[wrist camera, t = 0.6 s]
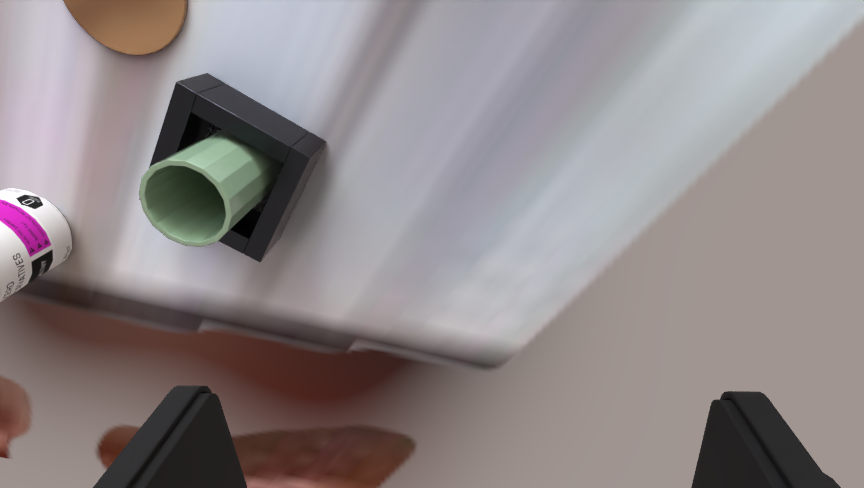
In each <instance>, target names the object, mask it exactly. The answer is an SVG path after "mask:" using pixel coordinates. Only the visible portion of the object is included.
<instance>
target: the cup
mask: <svg viewBox="0 0 864 488" xmlns="http://www.w3.org/2000/svg"><path fill="white" fill-rule="evenodd" d="M281 169H282V164H281V162H279V161H278V160H276V159H274V158H272V157H270V156H269V155H267V154H265V153H263V152H262V151H260V150H258V149H256V148H254V147H253V146H251V145H249V144H247V143H245V142H244V141H242V140H240V139H238V138H236V137H235V136H233V135H231V134H229V133H227V132H226V131H224V130H220V131H218V132H216V133H214V134H212V135H210V136H208V137H206V138H204V139H202V140H200V141H198V142H196V143H194V144H193V145H191V146H189V147H187V148H185V149H183V150H181V151H179V152H177V153H175V154H173V155H171V156H169V157H167V158H166V159H164V160H162V161H160V162H158V163H156V164H154V165H152V166H151V167H150V168H149V170H148V171H147V172H146V173H145V174H144V176H143V177H142V180H141V185H140V190H139V196H140V200H141V204H142V208H143V211H144V213H145V214H146V216H147V217H148V219H149V220H150V222H151V223H152V225H153V226H154V227H155V228H156V229H157V230H159V231H160V232H161V233H162V234H163V235H165V236H166V237H167V238H168V239H171V240H173V241H175V242H178V243H180V244H183V245H185V246H198V247H203V246H206V245H209V244H212V243H215V242H218V241H219V240H220V239H221V238H222V237H223V236H224V235H225V234H226V233H227V232H228V231H229V230H230V229H231V228H233V227H234V226H235V225H236V224H237V223H238V222H239V221H240V220H241V219H242V218H243V217H244V216H245V215H246V214H247V213H249V212H250V211H251V210H252V209H253V208H254V207H255V206H256V205H257V204H258V203H259V202H260V201H261V200H262V199H263V198H265V197H266V196H267V195H268V194H269V193H270V192H271V191H272V189H273V186H274V184H275V182H276V180H277V178H278V175H279V173H280V171H281Z"/></svg>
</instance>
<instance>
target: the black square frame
mask: <svg viewBox="0 0 864 488" xmlns="http://www.w3.org/2000/svg"><path fill="white" fill-rule="evenodd" d="M210 124H213V125H215V126H217V127H219V128H220V129H222V130H224V131H226V132H227V133H229V134H231V135H233V136H235V137H236V138H238V139H240V140H242V141H244V142H245V143H247V144H249V145H251V146H253V147H254V148H256V149H258V150H260V151H262V152H263V153H265V154H267V155H269V156H270V157H272V158H274V159H276V160H278V161H279V162H281V163H284V164H283V167H282V169H281V171H280V173H279V175H278V178H277V180H276V182H275V184H274V186H273V189H272V191H271V193H270V195H269V197H268V200H267V202H266V204H265V206H264V208H263V211H262V213H260V212H258V211H257V210H255V209H252V210H251V211H250V212H249V213H247V214H246V215H245V216H244V217H243V218H242V219H241V220H240V221H239V222H238V223H237V224H236V225H235V226H234V227H233V228H231V229H230V230H229V231H228V232H227V233H226V234H225V235H224V236H223V237H222V238H221V239H220V240H219V241H220V242H222V243H224V244H226V245H228V246H230V247H231V248H233V249H235V250H237V251H239V252H241V253H243V254H245V255H247V256H249V257H251V258H253V259H255V260H257V261H258V262H261V261H262V260H263V258H264V257H265V256H266V255H267V253H268V252H269V251H270V250H271V249H272V247H273V246H274V245H275V244H276V243H277V241H278V240H279V239H280V237H281V235H282V233H283V231H284V229H285V227H286V225H287V222H288V220H289V218H290V216H291V214H292V212H293V210H294V208H295V206H296V204H297V202H298V200H299V198H300V196H301V194H302V192H303V190H304V188H305V186H306V183H307V181H308V179H309V177H310V175H311V173H312V171H313V169H314V167H315V165H316V163H317V161H318V159H319V157H320V155H321V153H322V151H323V149H324V147H325V144H326V141H324V140H323V139H321V138H319V137H317V136H316V135H314V134H312V133H309V132H308V131H307V130H305V129H303V128H302V127H300V126H298V125H296V124H295V123H293V122H291V121H289V120H288V119H286V118H284V117H282V116H281V115H279V114H277V113H275V112H274V111H272V110H270V109H268V108H267V107H265V106H263V105H261V104H260V103H258V102H256V101H255V100H253V99H251V98H249V97H248V96H246V95H244V94H242V93H241V92H239V91H237V90H235V89H234V88H232V87H230V86H228V85H227V84H225V83H223V82H222V81H220V80H218V79H216V78H215V77H213V76H211V75H210V74H208V73H206V74H202V75H199V76H195V77H192V78H188V79H185V80H181V81H178V82H176V85H175V88H174V91H173V94H172V97H171V100H170V104H169V107H168V110H167V113H166V116H165V119H164V123H163V126H162V129H161V132H160V135H159V138H158V142H157V145H156V148H155V151H154V154H153V157H152V161H151V164H150V167H151V166H152V165H154V164H156V163H158V162H160V161H162V160H164V159H166V158H167V157H169V156H171V155H173V154H175V153H177V152H179V151H181V150H183V149H185V148H187V147H189V146H191V145H193V144H194V143H196V142H198V141H200V140H202V139H204V138H206V135H207V132H208V129H209V127H210ZM150 167H149V168H150ZM139 200H140V199H139Z"/></svg>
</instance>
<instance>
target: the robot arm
mask: <svg viewBox="0 0 864 488" xmlns="http://www.w3.org/2000/svg"><path fill="white" fill-rule="evenodd" d="M93 488H247V485H246V482H245V479H244V475H243V472H242V469H241V466H240V463H239V460H238V457H237V453H236V450H235V447H234V444H233V441H232V438H231V435H230V432H229V429H228V425H227V422H226V419H225V416H224V413H223V410H222V406H221V403H220V400H219V398H218V396H217V395H216V394H212V392H211V390H210V389H209V388H208V387H207V386H176V387H174V388H173V389H172V390H171V391H170V392H169V393H168V394H167V396H166V397H165V398H164V400H163V401H162V402H161V403H160V404H159V406H158V407H157V408H156V409H155V411H154V412H153V413H152V414H151V416H150V417H149V418H148V419H147V421H146V422H145V423H144V424H143V426H142V427H141V428H140V429H139V431H138V432H137V433H136V434H135V436H134V437H133V438H132V439H131V441H130V442H129V443H128V444H127V446H126V447H125V448H124V449H123V451H122V452H121V453H120V454H119V456H118V457H117V458H116V459H115V461H114V462H113V463H112V464H111V466H110V467H109V468H108V469H107V471H106V472H105V473H104V474H103V476H102V477H101V478H100V479H99V481H98V482H97V483H96V485H95V486H94V487H93ZM692 488H841V487H840V486H839V485H838V484H837V483H836V482H835V481H834V480H833V479H832V478H831V477H829V476H828V475H826V474H824V473H823V472H822V471H821V470H820V468H819V467H818V465H817V464H816V463H815V461H814V460H813V459H812V457H811V456H810V455H809V453H808V452H807V451H806V449H805V448H804V446H803V445H802V444H801V442H800V441H799V440H798V438H797V437H796V436H795V434H794V433H793V431H792V430H791V429H790V427H789V426H788V425H787V423H786V422H785V421H784V420H783V418H782V416H781V415H780V414H779V412H778V411H777V410H776V409H775V407H774V406H773V404H772V403H771V402H770V400H769V399H768V398H767V397H766V396H765V395H764V394H763V393H761V392H732V391H730V392H729V391H728V392H724V393H723V394H722V396H721V398H720V400H713V402H712V403H711V406H710V411H709V415H708V419H707V424H706V428H705V432H704V436H703V441H702V445H701V450H700V454H699V458H698V462H697V466H696V471H695V475H694V479H693V484H692Z"/></svg>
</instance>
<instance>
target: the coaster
mask: <svg viewBox="0 0 864 488" xmlns="http://www.w3.org/2000/svg"><path fill="white" fill-rule="evenodd" d="M63 1H64V3H65V4H66V6H67V8H68V10H69V11H70V13H71V14H72V16H73V17H74V19H75V20H76V21H77V22H78V23H79V25H80V26H81V27H82V28H83V29H84V30H85V31H86V32H87V33H88V34H89V35H91V36H92V37H93V38H94V39H96V40H97V41H98V42H100V43H101V44H103V45H105V46H107V47H109V48H111V49H113V50H116V51H118V52H121V53H125V54H132V55H144V54H150V53H154V52H157V51H160V50H161V49H163V48H165V47H166V46H168V45H169V44H170V43H171V42H172V41H173V40H174V39H175V38H176V37H177V35H178V34H179V32H180V30H181V28H182V26H183V23H184V20H185V16H186V11H187V0H63Z"/></svg>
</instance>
